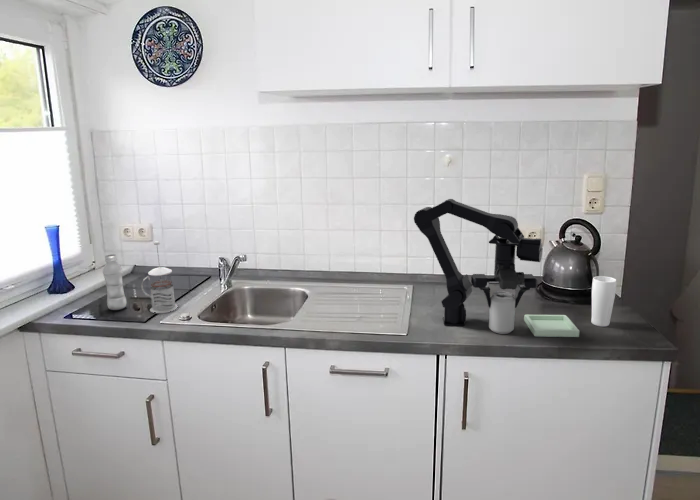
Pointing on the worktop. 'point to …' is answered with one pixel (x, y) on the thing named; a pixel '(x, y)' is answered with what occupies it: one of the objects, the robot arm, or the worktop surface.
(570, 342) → the worktop surface
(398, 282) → the worktop surface
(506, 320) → the can
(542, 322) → the tray
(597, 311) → the drinking glass
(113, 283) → the plastic bottle
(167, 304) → the french press
